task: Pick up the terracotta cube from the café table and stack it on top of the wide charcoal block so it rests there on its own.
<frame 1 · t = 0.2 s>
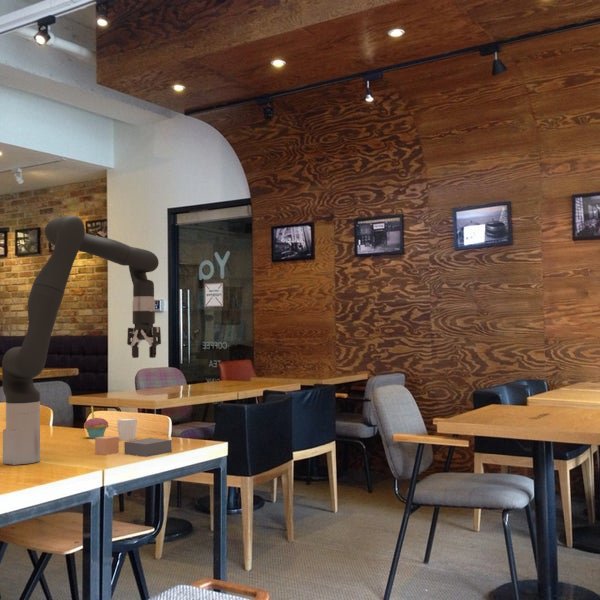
hand: (143, 357, 235), 29 cm above the table, tool pointing down, fingers open, 8 cm apart
charcoal block: (148, 454, 211), on the table
terracotta cube: (107, 453, 212), on the table
light grey piece: (127, 439, 243), on the table
cupcake: (96, 438, 249), on the table
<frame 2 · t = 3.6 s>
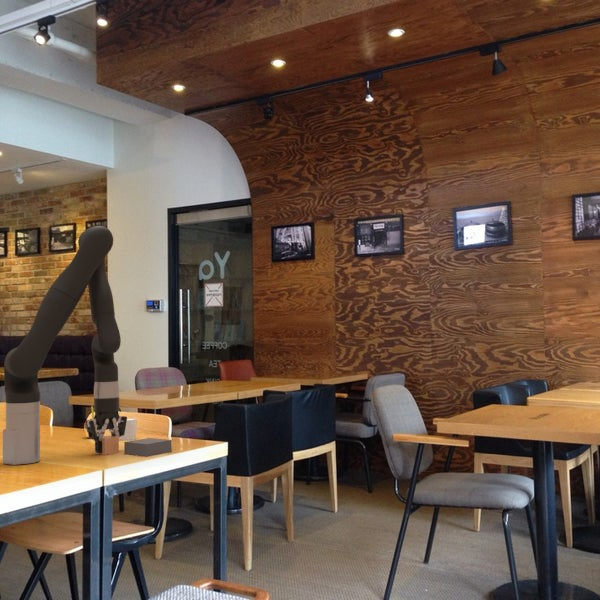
hand: (107, 451, 212), 0 cm above the table, tool pointing down, fingers closed on terracotta cube, 5 cm apart
terracotta cube: (107, 453, 212), on the table, touching gripper
everything else where it was.
when the fingers open (6 cm above the table, at t = 8.0 s): terracotta cube drops 2 cm, point 4 cm above the table.
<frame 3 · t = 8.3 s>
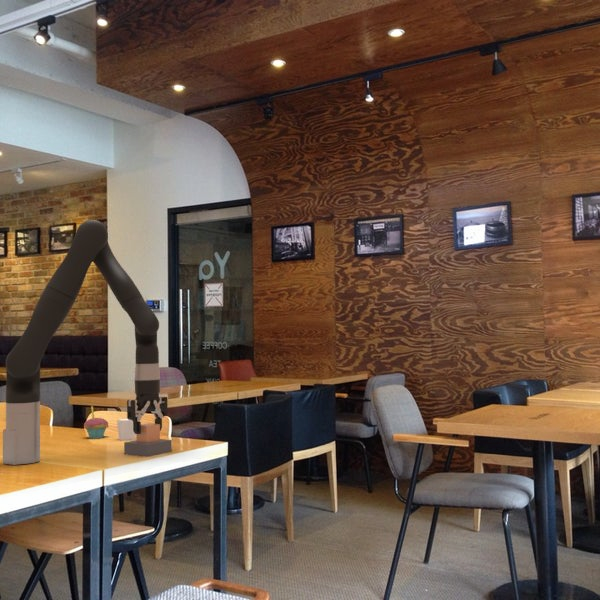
hand: (148, 432, 211), 6 cm above the table, tool pointing down, fingers open, 7 cm apart
terracotta cube: (148, 441, 211), point 4 cm above the table
everything else where it was.
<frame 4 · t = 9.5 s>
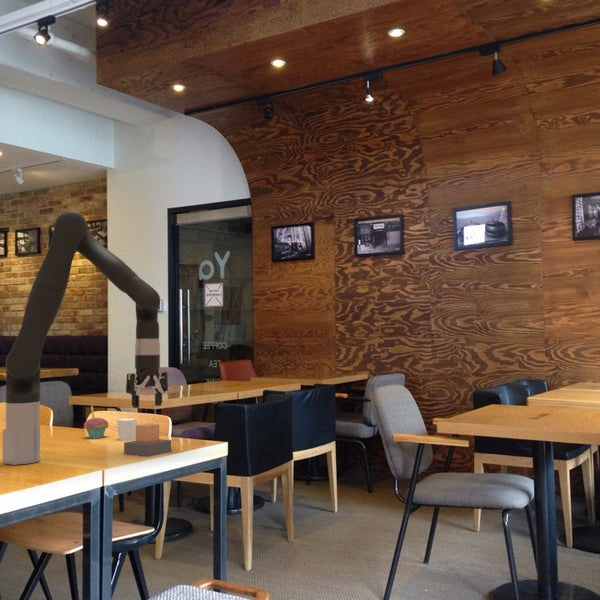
hand: (147, 406, 212), 14 cm above the table, tool pointing down, fingers open, 8 cm apart
nothing on the table moved.
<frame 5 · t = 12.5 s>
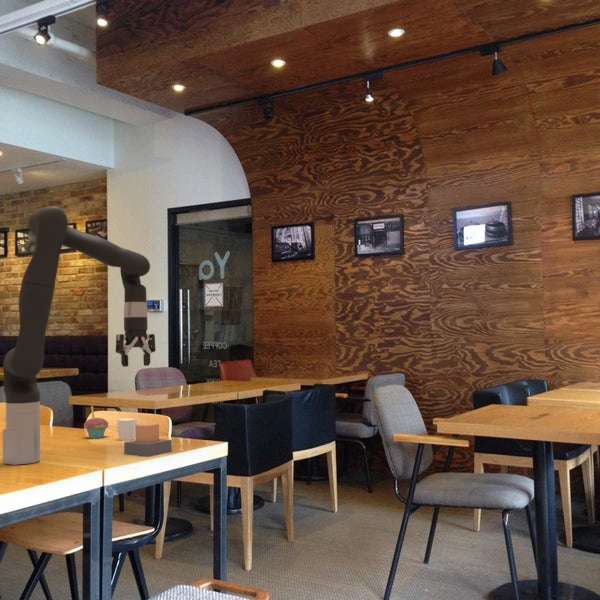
hand: (136, 366, 225), 26 cm above the table, tool pointing down, fingers open, 8 cm apart
charcoal block: (148, 454, 211), on the table, touching terracotta cube
terracotta cube: (147, 441, 211), point 4 cm above the table, touching charcoal block
everything else where it was.
at the end: terracotta cube inside the target area on the charcoal block (0.1 cm from its centre), point 4.0 cm above the charcoal block's base; terracotta cube tilted 1°; the gripper is holding nothing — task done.
